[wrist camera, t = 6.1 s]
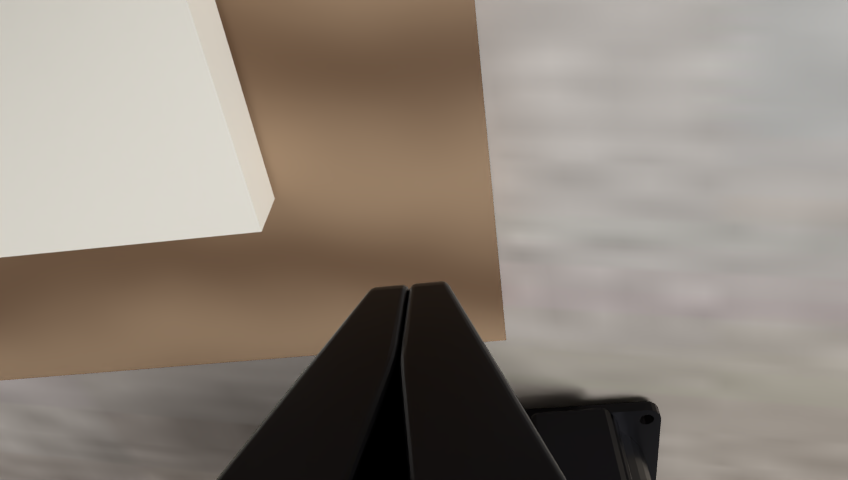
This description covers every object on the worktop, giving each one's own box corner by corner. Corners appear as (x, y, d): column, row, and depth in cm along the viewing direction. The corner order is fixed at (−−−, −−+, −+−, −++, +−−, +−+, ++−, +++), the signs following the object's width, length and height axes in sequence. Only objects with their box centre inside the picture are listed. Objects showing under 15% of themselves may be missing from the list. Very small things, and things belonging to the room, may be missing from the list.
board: (502, 308, 23) (505, 340, 22) (-2, 351, 25) (-26, 382, 24) (419, -589, 12) (416, -629, 11) (-492, -391, 14) (-585, -407, 12)
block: (261, 231, 18) (-31, 260, 18) (275, 195, 19) (3, 224, 20) (148, -119, 13) (-233, -60, 14) (178, -131, 14) (-169, -78, 15)
